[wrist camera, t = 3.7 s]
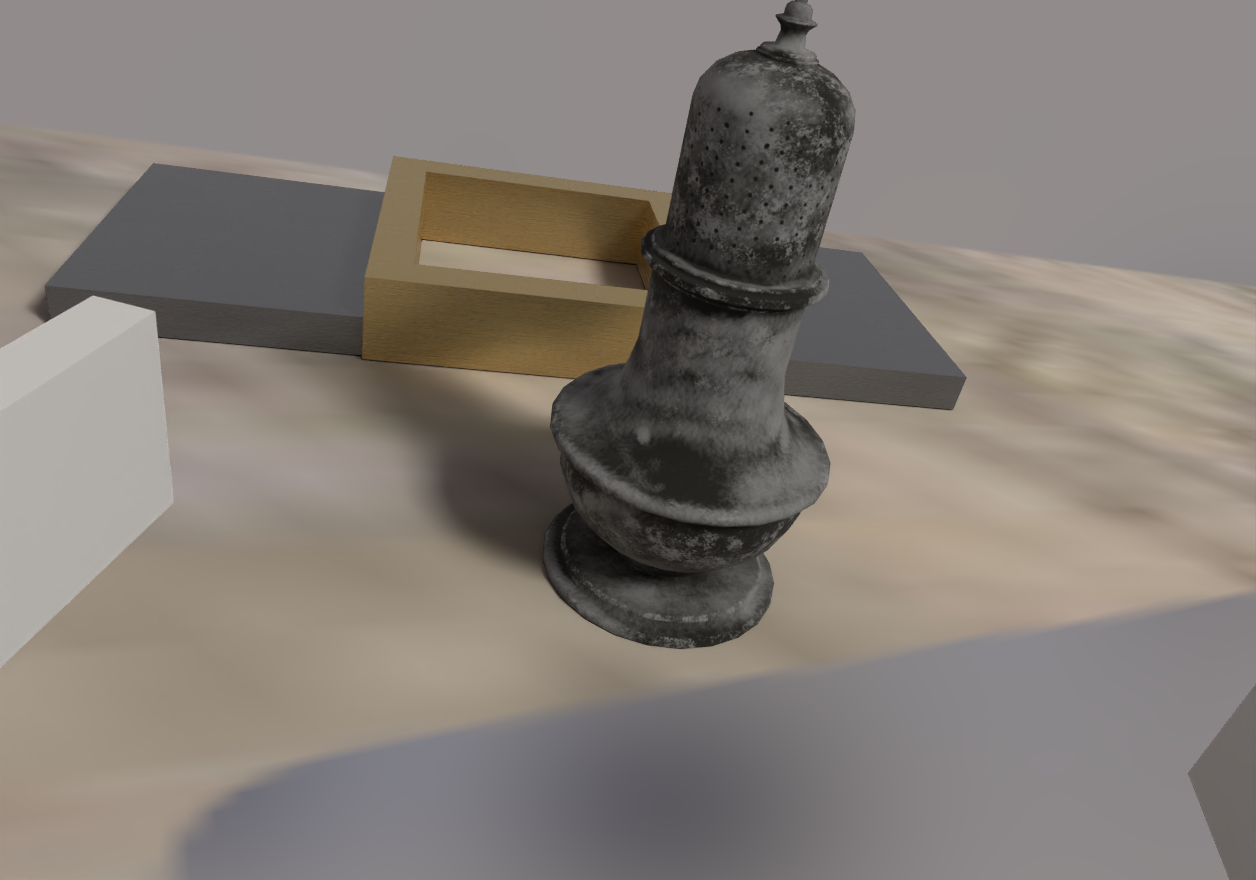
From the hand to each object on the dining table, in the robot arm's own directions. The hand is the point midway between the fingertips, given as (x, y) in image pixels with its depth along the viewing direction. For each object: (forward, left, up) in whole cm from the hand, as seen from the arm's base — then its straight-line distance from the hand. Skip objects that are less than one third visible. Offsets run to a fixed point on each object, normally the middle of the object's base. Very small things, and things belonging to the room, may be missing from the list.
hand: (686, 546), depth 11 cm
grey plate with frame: (-11, +18, -7) cm, 22 cm away
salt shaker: (-2, +8, -7) cm, 11 cm away
